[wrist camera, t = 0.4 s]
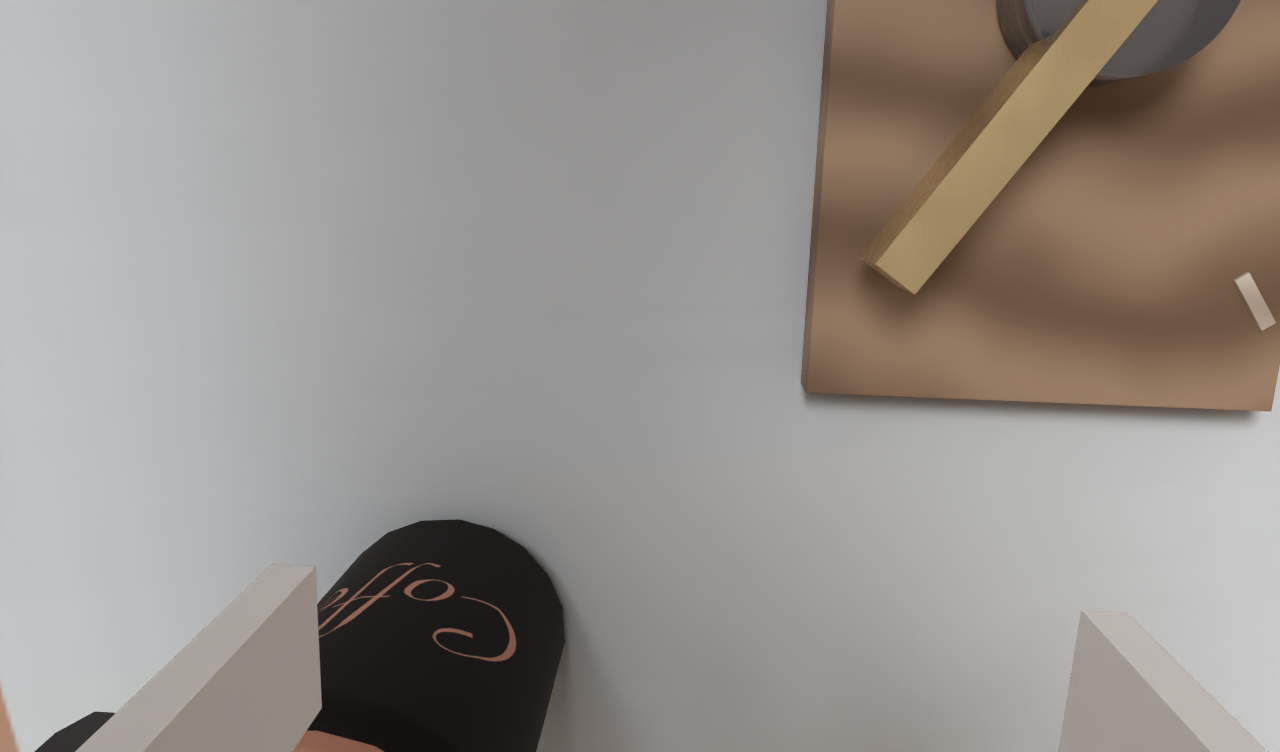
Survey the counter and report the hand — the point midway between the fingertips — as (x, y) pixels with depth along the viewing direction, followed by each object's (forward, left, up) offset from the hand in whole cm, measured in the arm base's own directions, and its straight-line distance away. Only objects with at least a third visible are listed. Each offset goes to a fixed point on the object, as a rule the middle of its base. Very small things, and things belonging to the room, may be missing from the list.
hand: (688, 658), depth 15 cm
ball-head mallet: (-12, +12, -23) cm, 28 cm away
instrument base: (-12, +15, -25) cm, 31 cm away
